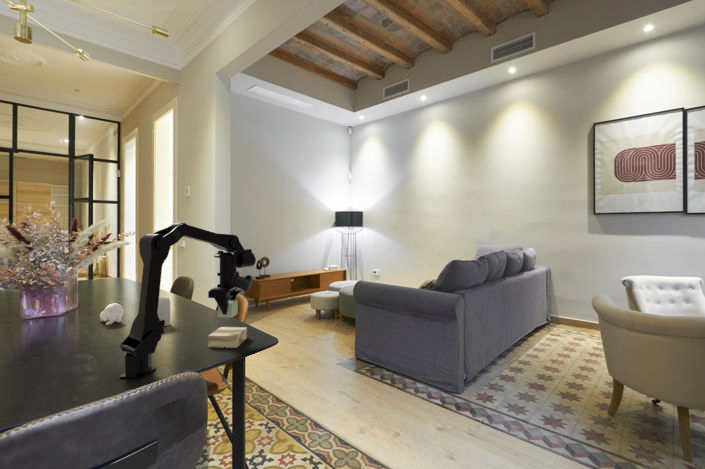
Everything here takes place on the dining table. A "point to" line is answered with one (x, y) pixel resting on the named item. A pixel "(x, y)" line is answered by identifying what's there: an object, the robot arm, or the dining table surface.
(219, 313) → the sage cube
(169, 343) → the dining table surface
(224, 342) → the oak block
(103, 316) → the white animal figurine
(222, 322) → the dining table surface
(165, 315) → the photo printer
